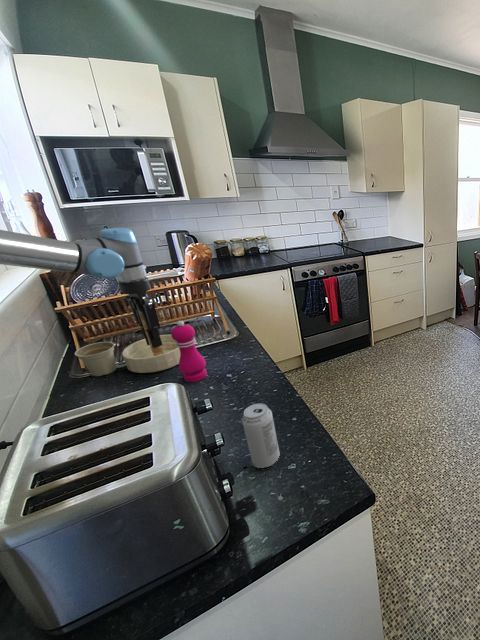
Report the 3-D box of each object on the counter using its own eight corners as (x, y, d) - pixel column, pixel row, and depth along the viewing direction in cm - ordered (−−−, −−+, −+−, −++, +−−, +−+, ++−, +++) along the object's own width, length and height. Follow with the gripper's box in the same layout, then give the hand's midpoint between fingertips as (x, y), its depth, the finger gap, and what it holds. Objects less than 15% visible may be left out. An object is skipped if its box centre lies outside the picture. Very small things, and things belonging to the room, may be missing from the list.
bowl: (144, 380, 109) (138, 364, 107) (118, 365, 117) (112, 349, 115) (200, 357, 123) (195, 342, 121) (173, 344, 131) (169, 330, 129)
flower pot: (113, 377, 110) (104, 354, 107) (78, 381, 108) (67, 357, 105) (128, 362, 119) (120, 340, 115) (95, 365, 116) (85, 343, 113)
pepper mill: (213, 371, 115) (199, 317, 107) (198, 384, 109) (182, 326, 100) (193, 370, 116) (177, 315, 108) (177, 382, 109) (158, 325, 101)
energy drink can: (261, 450, 85) (250, 400, 79) (285, 452, 84) (275, 402, 78) (247, 469, 79) (234, 418, 73) (272, 472, 79) (261, 420, 73)
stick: (157, 361, 118) (139, 307, 110) (153, 359, 119) (134, 305, 111) (166, 358, 120) (148, 305, 112) (162, 355, 122) (144, 303, 113)
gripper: (159, 280, 107) (179, 346, 117) (134, 272, 114) (155, 335, 124) (131, 287, 101) (154, 356, 111) (106, 277, 108) (130, 343, 118)
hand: (155, 344), depth 118 cm, fingers closed on stick, 3 cm apart
